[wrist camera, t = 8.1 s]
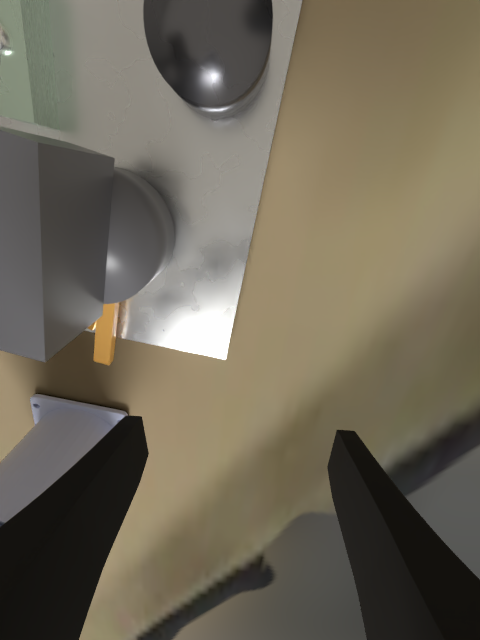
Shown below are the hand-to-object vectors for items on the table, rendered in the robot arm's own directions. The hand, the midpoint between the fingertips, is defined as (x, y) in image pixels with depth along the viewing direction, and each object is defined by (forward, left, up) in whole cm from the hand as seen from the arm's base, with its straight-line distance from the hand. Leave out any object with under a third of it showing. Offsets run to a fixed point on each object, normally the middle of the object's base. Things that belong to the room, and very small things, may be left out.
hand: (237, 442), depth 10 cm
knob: (+3, +8, -8) cm, 11 cm away
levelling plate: (+7, +11, -9) cm, 16 cm away
